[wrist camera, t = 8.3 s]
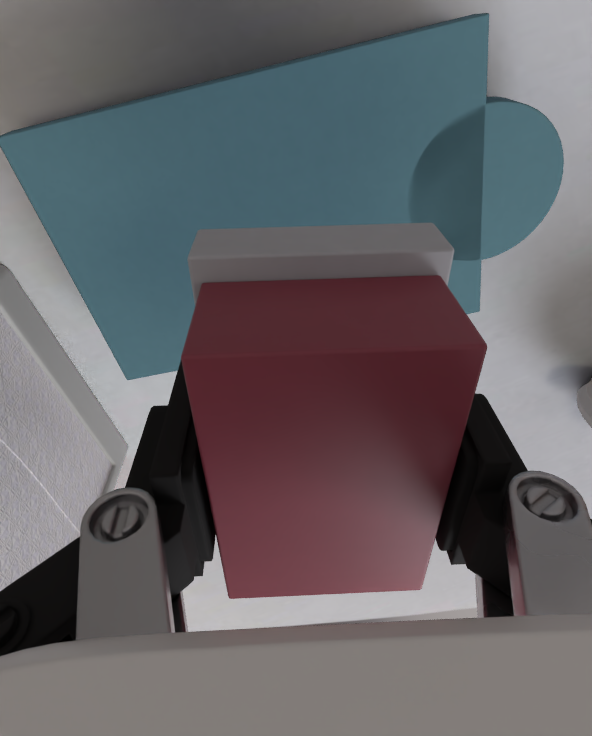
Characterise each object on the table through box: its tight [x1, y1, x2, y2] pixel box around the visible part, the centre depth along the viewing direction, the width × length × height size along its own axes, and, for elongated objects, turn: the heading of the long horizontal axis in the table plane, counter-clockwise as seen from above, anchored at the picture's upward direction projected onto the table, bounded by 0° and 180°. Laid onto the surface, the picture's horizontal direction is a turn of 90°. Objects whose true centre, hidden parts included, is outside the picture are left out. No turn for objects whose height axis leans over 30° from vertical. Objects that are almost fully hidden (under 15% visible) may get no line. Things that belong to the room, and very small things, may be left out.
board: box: [0, 13, 564, 380], centre depth 23 cm, size 24×13×4 cm, turn 102°
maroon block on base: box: [181, 223, 487, 599], centre depth 11 cm, size 9×5×4 cm, turn 1°
